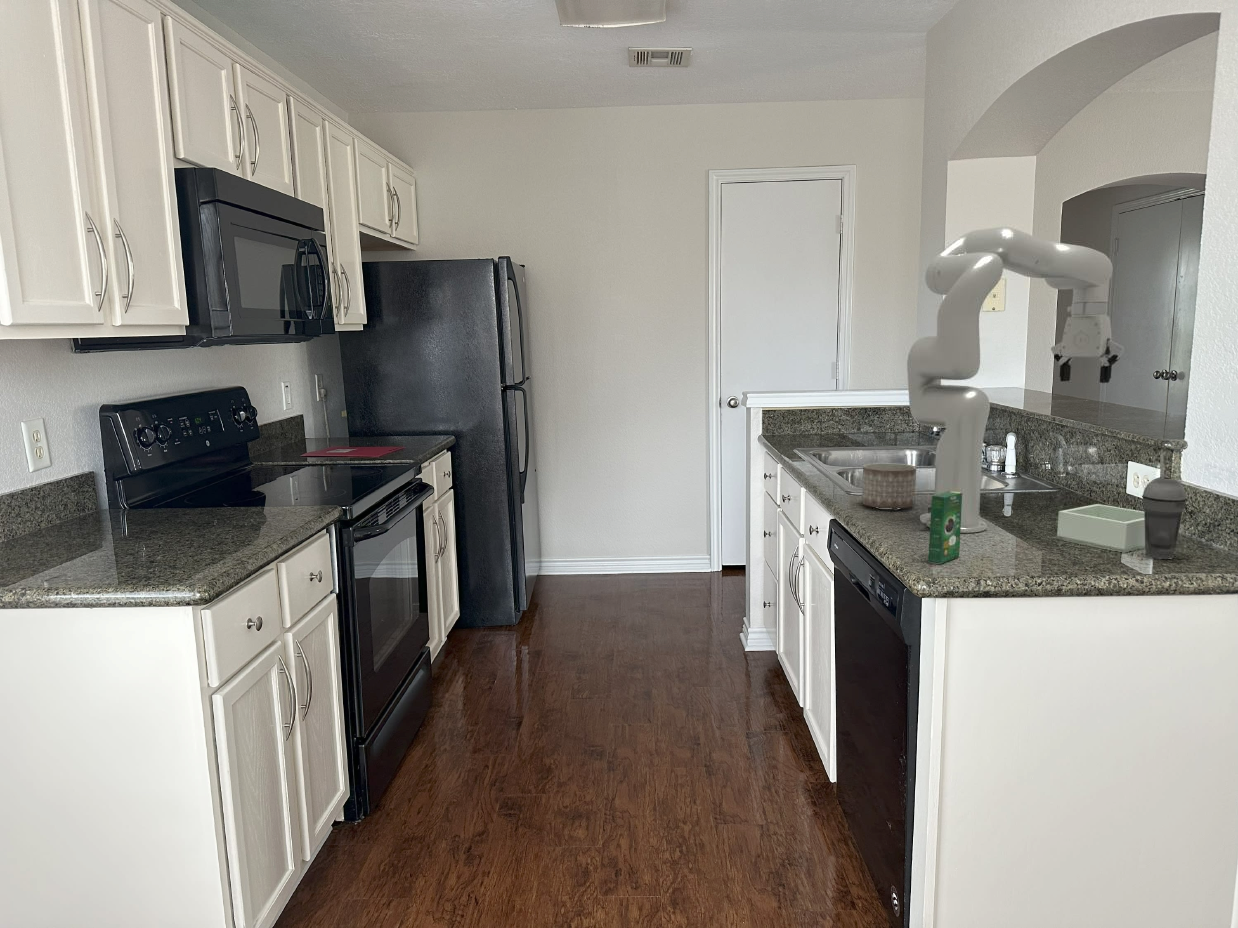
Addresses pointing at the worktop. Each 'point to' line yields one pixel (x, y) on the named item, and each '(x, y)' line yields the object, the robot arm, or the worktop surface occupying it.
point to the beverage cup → (1162, 514)
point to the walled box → (1103, 527)
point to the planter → (889, 485)
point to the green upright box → (945, 527)
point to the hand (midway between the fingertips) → (1084, 381)
